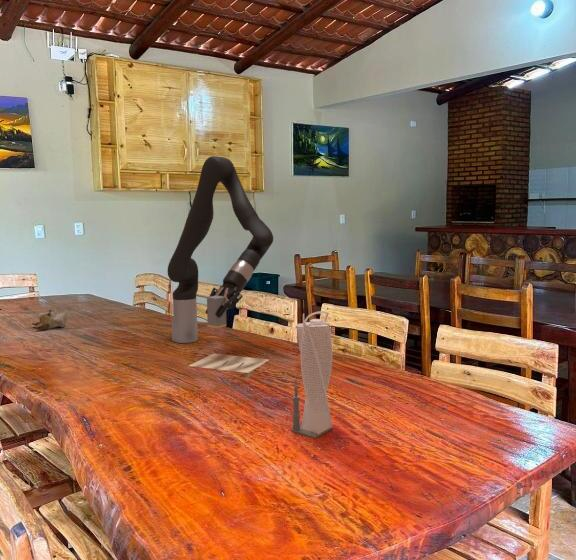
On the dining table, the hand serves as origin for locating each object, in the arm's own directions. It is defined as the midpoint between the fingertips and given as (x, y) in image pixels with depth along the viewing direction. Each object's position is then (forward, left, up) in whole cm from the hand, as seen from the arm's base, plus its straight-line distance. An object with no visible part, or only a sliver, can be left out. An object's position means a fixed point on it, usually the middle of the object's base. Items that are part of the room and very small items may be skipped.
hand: (212, 315), depth 181 cm
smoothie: (+23, +27, -17) cm, 39 cm away
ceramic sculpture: (-98, +24, -17) cm, 102 cm away
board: (+7, -1, -17) cm, 18 cm away
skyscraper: (+51, -39, -17) cm, 66 cm away
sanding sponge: (+1, +2, -4) cm, 4 cm away
